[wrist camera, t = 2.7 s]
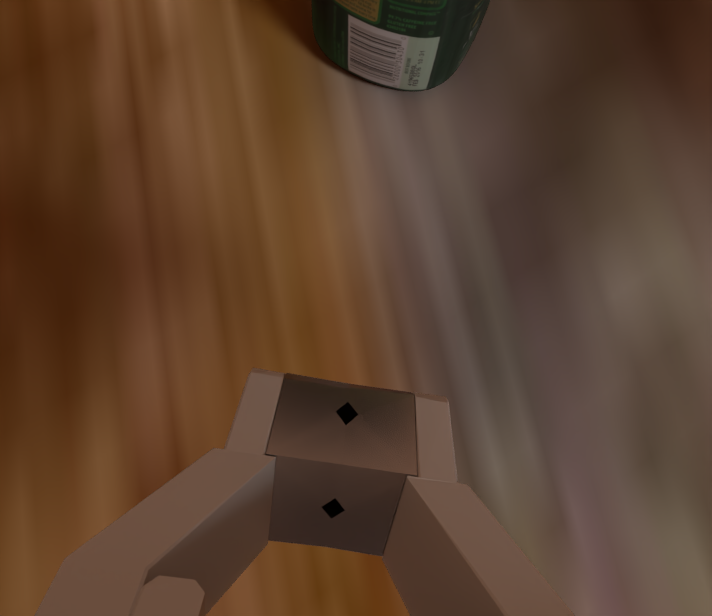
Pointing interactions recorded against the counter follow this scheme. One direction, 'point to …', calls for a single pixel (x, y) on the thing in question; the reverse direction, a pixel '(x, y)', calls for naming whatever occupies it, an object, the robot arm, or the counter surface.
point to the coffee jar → (398, 38)
